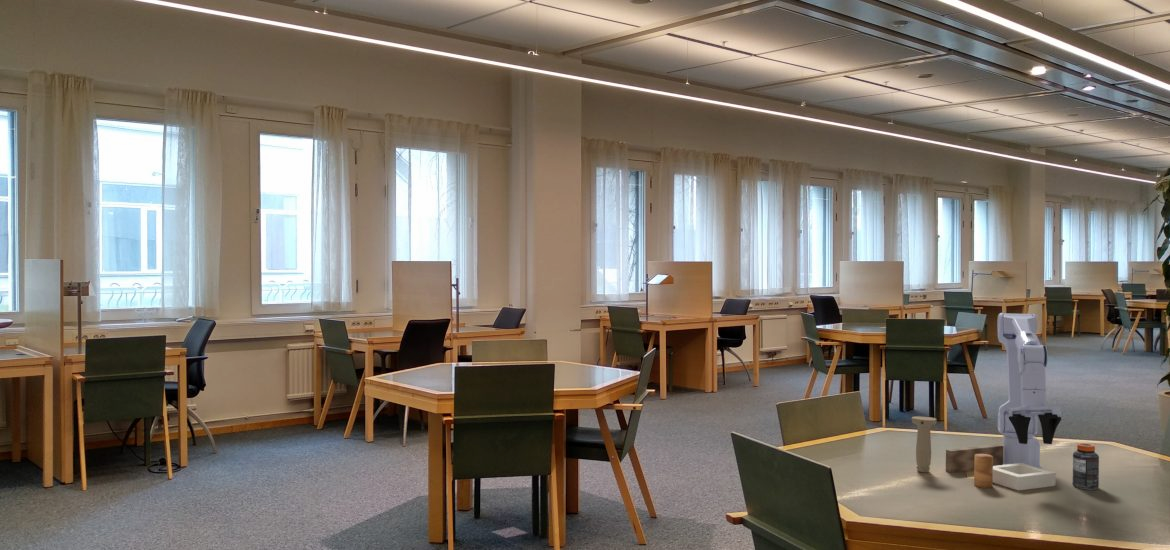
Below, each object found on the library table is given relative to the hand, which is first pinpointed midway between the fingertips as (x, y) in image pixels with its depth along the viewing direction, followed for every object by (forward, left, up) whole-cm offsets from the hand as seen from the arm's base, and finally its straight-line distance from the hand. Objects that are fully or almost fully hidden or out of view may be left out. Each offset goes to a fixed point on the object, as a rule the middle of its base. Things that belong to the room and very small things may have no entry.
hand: (1035, 443), depth 220 cm
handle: (+13, -26, -13) cm, 31 cm away
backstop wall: (-3, -23, -12) cm, 27 cm away
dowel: (+8, -9, -12) cm, 17 cm away
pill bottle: (-16, +1, -13) cm, 21 cm away
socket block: (-3, -8, -12) cm, 15 cm away
